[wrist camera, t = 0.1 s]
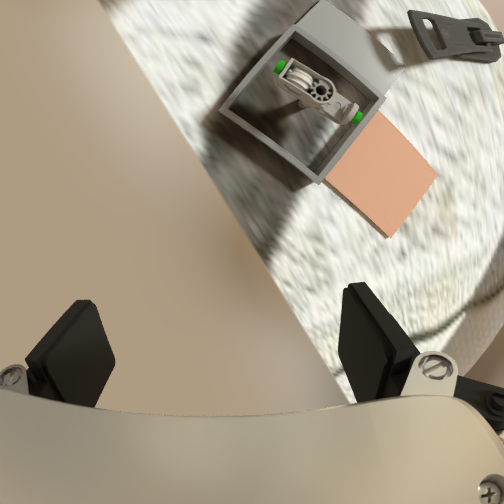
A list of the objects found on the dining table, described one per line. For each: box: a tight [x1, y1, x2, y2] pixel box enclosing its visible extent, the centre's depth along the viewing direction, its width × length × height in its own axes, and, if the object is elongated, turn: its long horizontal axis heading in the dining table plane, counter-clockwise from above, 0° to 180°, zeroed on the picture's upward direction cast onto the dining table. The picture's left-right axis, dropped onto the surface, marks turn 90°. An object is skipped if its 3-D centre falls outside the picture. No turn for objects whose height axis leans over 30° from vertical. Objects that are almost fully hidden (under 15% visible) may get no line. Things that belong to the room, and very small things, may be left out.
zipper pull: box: [407, 10, 504, 63], centre depth 27 cm, size 9×7×25 cm
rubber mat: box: [324, 110, 437, 238], centre depth 39 cm, size 13×14×1 cm
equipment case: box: [219, 0, 406, 185], centre depth 33 cm, size 24×16×3 cm, turn 143°
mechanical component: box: [274, 58, 363, 125], centre depth 31 cm, size 3×10×10 cm, turn 59°
